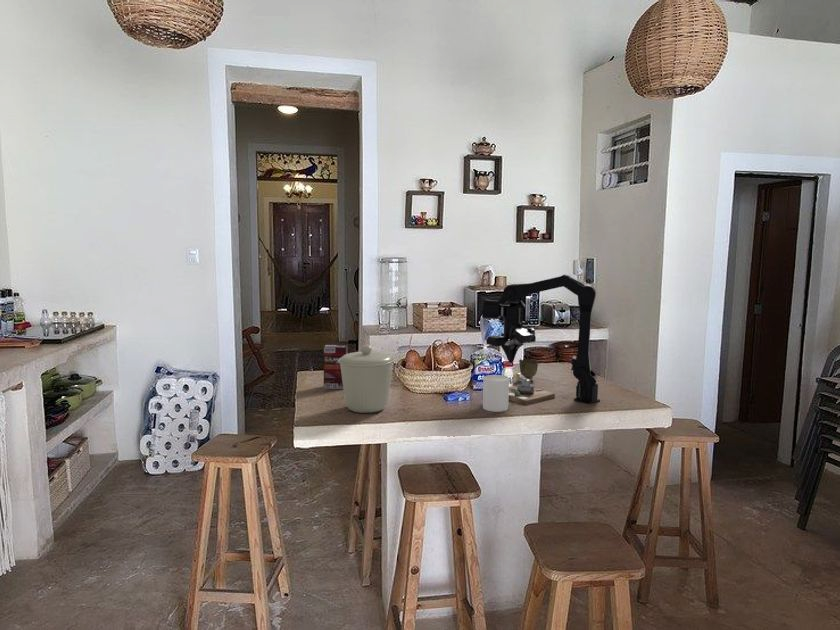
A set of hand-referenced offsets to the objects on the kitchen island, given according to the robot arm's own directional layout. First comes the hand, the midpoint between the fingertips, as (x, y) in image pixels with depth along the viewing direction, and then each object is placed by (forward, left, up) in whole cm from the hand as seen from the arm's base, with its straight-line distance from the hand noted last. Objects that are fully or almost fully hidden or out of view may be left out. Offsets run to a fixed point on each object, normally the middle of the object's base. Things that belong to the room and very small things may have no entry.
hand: (510, 362), depth 197 cm
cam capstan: (-4, -2, -9) cm, 10 cm away
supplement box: (+45, +46, -12) cm, 66 cm away
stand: (-6, -1, -11) cm, 13 cm away
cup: (+10, -21, -12) cm, 25 cm away
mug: (-8, +16, -12) cm, 22 cm away
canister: (+15, +51, -12) cm, 55 cm away
